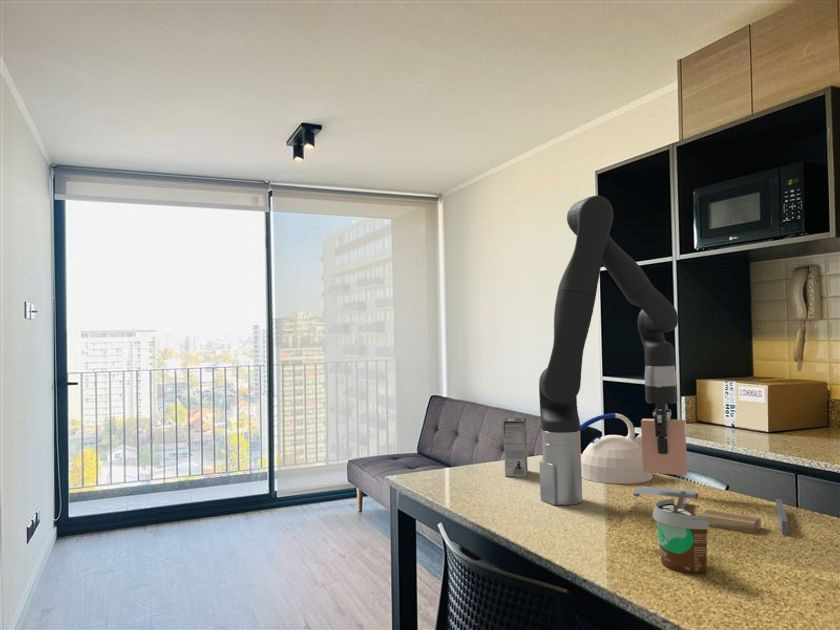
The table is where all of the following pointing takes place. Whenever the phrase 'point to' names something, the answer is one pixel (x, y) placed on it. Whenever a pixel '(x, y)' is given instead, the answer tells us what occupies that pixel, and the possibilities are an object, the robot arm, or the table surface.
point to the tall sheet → (676, 448)
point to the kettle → (614, 456)
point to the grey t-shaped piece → (663, 492)
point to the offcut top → (733, 521)
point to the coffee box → (515, 447)
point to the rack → (779, 510)
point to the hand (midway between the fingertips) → (663, 451)
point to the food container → (681, 538)
